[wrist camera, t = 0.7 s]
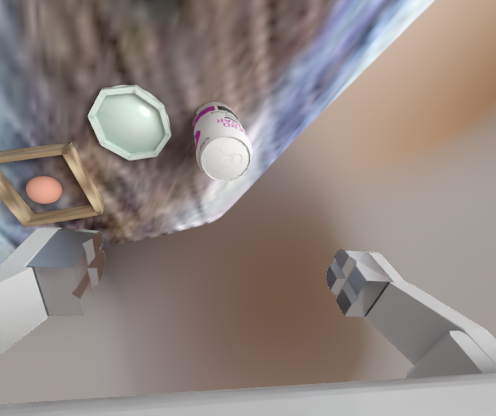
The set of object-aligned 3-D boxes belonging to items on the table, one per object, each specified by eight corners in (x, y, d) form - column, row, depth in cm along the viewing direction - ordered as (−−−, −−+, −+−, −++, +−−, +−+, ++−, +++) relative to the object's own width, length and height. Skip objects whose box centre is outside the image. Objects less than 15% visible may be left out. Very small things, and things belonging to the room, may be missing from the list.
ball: (27, 173, 44) (12, 188, 40) (57, 168, 44) (45, 183, 40) (43, 195, 47) (31, 211, 43) (71, 191, 47) (61, 206, 44)
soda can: (195, 146, 47) (200, 188, 36) (189, 101, 42) (193, 133, 31) (236, 143, 49) (254, 182, 37) (236, 99, 44) (255, 129, 32)
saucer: (79, 88, 38) (75, 91, 36) (159, 80, 39) (158, 83, 38) (111, 158, 45) (108, 163, 44) (176, 149, 47) (176, 154, 45)
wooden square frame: (-20, 153, 40) (-32, 162, 38) (71, 142, 42) (65, 149, 40) (32, 217, 49) (24, 227, 47) (105, 205, 51) (101, 214, 48)
